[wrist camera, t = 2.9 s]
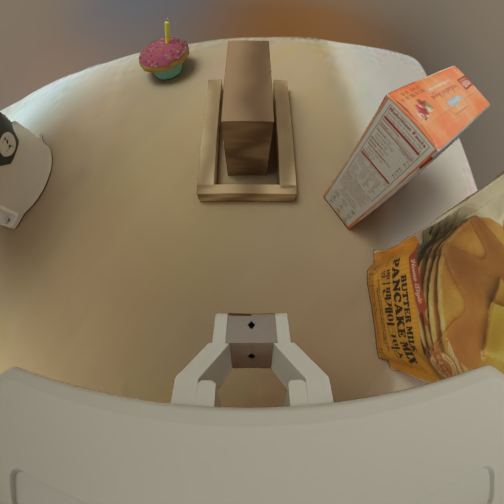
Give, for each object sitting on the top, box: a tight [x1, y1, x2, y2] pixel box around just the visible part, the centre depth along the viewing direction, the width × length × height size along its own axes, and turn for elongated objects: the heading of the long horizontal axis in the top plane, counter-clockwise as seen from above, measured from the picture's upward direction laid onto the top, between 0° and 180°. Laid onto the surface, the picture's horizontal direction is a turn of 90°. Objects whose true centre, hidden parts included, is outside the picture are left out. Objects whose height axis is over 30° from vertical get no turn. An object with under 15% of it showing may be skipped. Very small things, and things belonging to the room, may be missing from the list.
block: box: [221, 41, 274, 175], centre depth 32 cm, size 5×14×12 cm, turn 0°
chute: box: [197, 80, 297, 202], centre depth 36 cm, size 12×20×2 cm, turn 0°
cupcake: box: [139, 18, 189, 79], centre depth 34 cm, size 9×8×12 cm
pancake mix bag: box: [367, 171, 504, 383], centre depth 19 cm, size 7×19×28 cm, turn 9°
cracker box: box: [324, 66, 490, 229], centre depth 26 cm, size 14×6×21 cm, turn 126°
